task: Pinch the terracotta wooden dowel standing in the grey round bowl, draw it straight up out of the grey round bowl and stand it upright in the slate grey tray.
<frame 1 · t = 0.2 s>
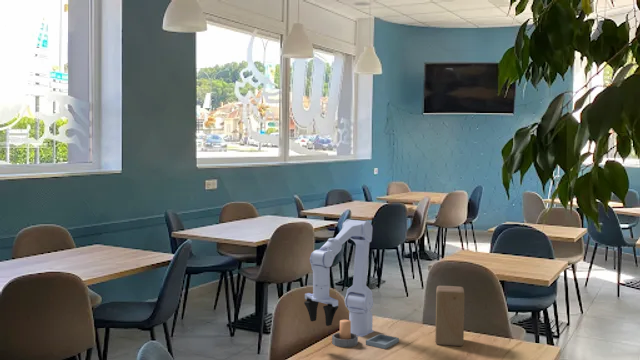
hand: (321, 323, 214), 10 cm above the table, tool pointing down, fingers open, 7 cm apart
tray: (382, 344, 222), on the table
dowel: (344, 342, 222), resting on grey round bowl
wooden block: (449, 342, 226), on the table
grey round bowl: (344, 344, 222), on the table
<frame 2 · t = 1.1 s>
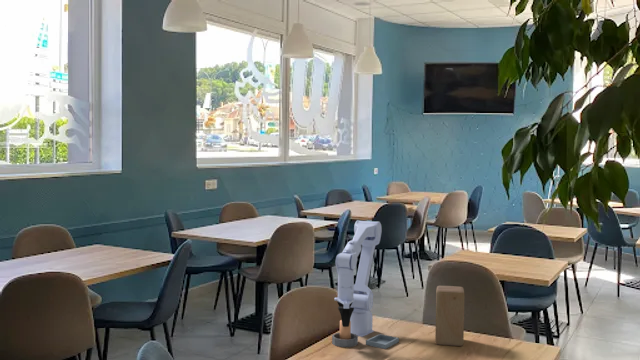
hand: (345, 323, 222), 8 cm above the table, tool pointing down, fingers open, 7 cm apart
nothing on the table moved.
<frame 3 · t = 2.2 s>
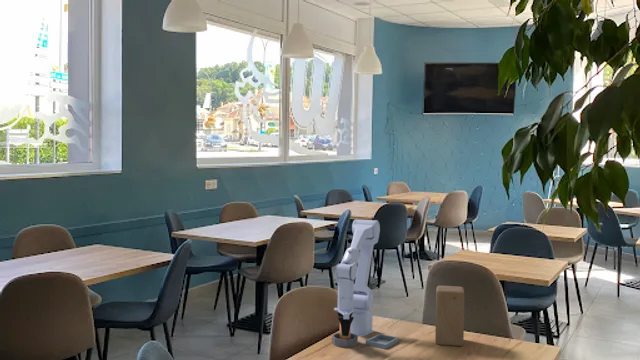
hand: (345, 333, 222), 4 cm above the table, tool pointing down, fingers closed on dowel, 4 cm apart
dowel: (344, 342, 222), resting on grey round bowl, touching gripper
everything else where it was.
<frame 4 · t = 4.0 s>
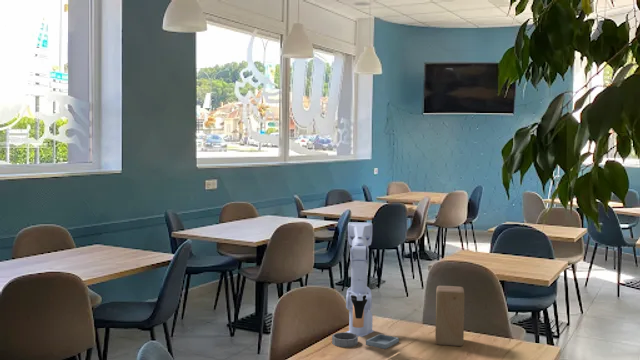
hand: (358, 316, 221), 10 cm above the table, tool pointing down, fingers closed on dowel, 4 cm apart
dowel: (358, 326, 221), point 7 cm above the table, touching gripper
everything else where it was.
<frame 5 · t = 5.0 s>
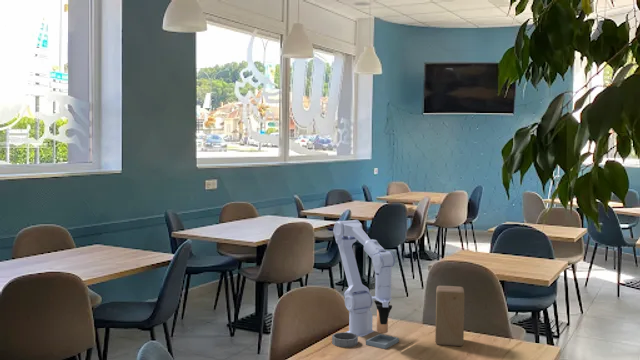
hand: (382, 322, 222), 8 cm above the table, tool pointing down, fingers closed on dowel, 4 cm apart
dowel: (382, 331, 222), point 5 cm above the table, touching gripper
everything else where it was.
when the fingers open (5 cm above the table, at t = 5.9 s): dowel stays where it is, resting on tray.
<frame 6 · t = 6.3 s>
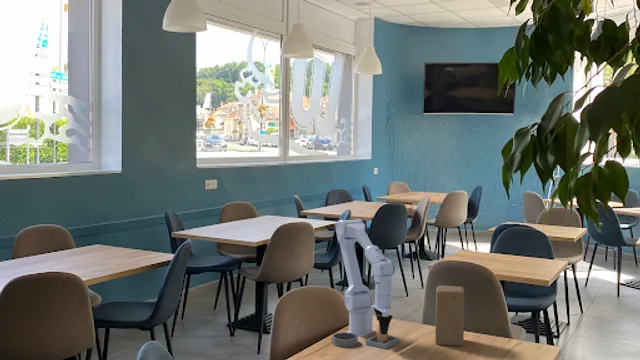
hand: (382, 331, 222), 5 cm above the table, tool pointing down, fingers open, 7 cm apart
dowel: (382, 342, 222), point 1 cm above the table, touching tray
everything else where it was.
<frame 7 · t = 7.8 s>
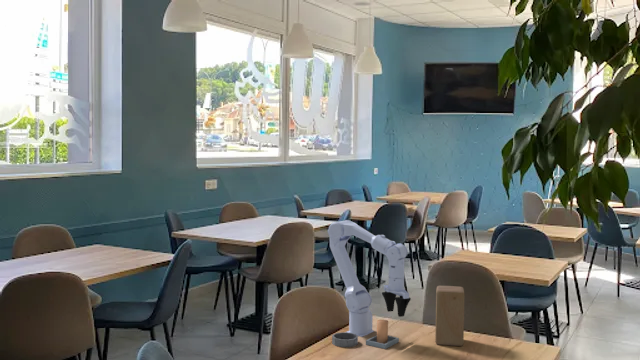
hand: (395, 313, 226), 10 cm above the table, tool pointing down, fingers open, 7 cm apart
nothing on the table moved.
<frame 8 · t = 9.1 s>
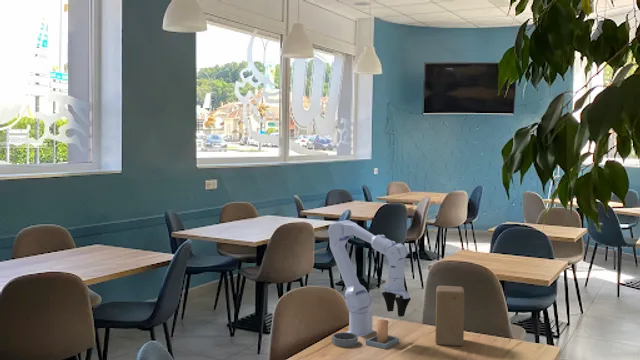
hand: (395, 313, 226), 10 cm above the table, tool pointing down, fingers open, 7 cm apart
nothing on the table moved.
at the end: dowel 0.1 cm off-centre on the tray, point 0.6 cm above the tray's base; dowel tilted 1°; the gripper is holding nothing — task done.
